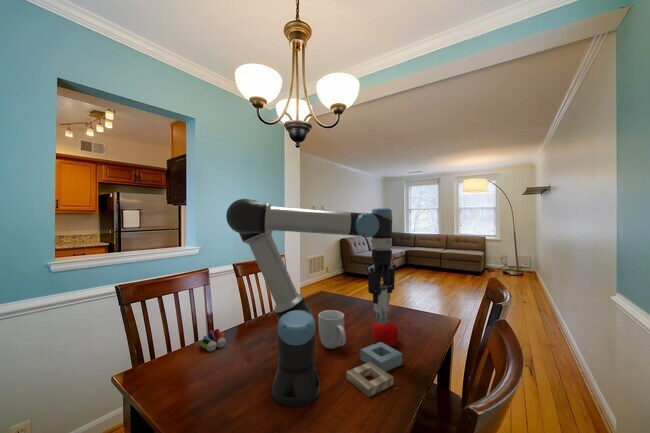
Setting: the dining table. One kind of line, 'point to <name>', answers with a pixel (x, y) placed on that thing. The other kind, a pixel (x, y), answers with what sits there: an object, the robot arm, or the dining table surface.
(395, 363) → the socket
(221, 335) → the multicoloured knobbly toy
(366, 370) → the beige square frame
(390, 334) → the tomato
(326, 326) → the mug
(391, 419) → the dining table surface
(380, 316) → the pin
